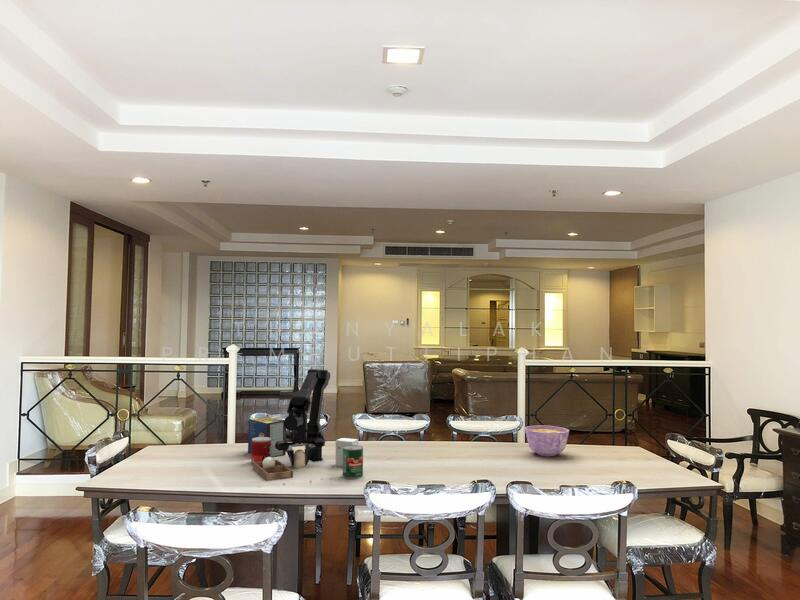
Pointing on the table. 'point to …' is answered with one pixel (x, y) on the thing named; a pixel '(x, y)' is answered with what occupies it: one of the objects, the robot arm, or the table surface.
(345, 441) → the small box
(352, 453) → the canned tomato
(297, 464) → the cylinder
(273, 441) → the protein box
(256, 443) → the canned food
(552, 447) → the bowl of food
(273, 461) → the ball
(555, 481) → the table surface
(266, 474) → the crate
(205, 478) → the table surface
